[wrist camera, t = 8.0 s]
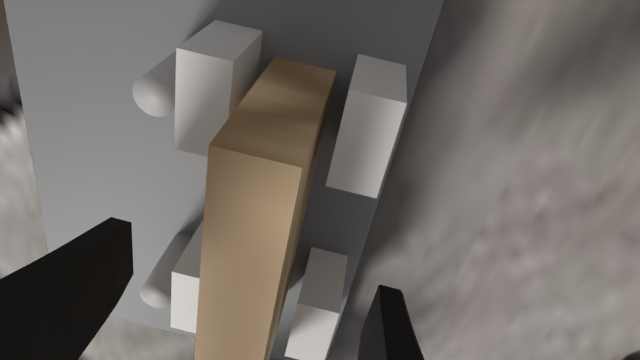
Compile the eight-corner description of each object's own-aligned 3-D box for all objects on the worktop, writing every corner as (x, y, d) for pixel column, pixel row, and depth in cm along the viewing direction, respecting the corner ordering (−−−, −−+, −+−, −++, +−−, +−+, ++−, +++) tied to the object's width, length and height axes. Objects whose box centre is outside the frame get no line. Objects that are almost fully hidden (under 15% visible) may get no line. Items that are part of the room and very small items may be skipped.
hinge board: (471, -101, 13) (497, -97, 9) (326, 353, 23) (314, 430, 20) (-8, -212, 13) (-151, -247, 9) (69, 288, 24) (15, 354, 20)
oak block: (336, 71, 15) (302, 167, 10) (288, 290, 20) (250, 424, 15) (274, 56, 15) (208, 145, 10) (243, 279, 20) (190, 409, 15)
